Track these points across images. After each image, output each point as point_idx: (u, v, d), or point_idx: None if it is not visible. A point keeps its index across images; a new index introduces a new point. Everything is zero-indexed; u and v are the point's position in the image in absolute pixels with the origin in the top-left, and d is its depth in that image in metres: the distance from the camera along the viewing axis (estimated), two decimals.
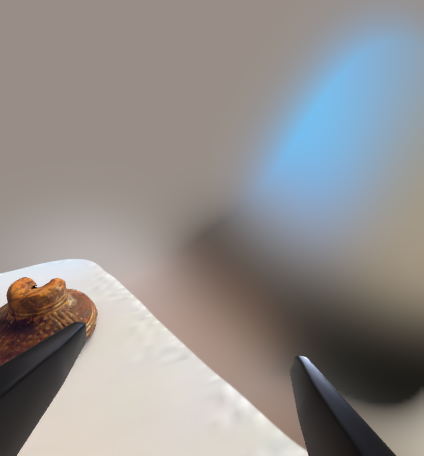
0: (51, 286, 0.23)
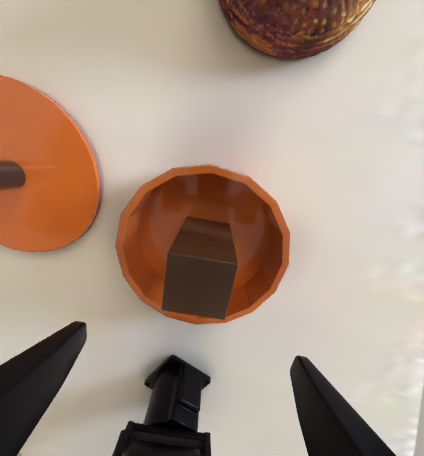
0: None
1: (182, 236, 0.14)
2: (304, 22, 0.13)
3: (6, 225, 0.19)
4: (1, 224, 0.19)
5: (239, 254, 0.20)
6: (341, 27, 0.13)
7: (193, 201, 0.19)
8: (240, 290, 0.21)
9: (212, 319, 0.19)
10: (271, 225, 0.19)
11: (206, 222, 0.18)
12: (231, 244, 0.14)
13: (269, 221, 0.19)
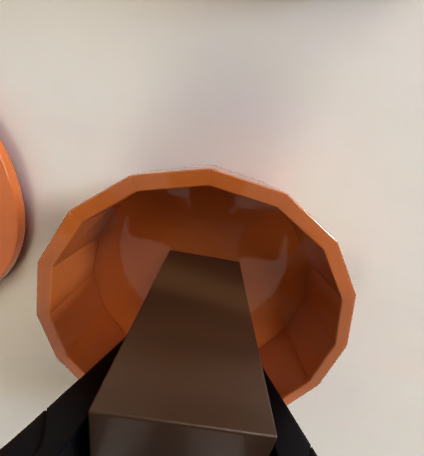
0: None
1: (148, 315, 0.07)
2: None
3: None
4: None
5: (253, 306, 0.13)
6: None
7: (181, 226, 0.11)
8: None
9: None
10: (307, 265, 0.12)
11: (201, 263, 0.11)
12: (248, 333, 0.07)
13: (304, 258, 0.12)
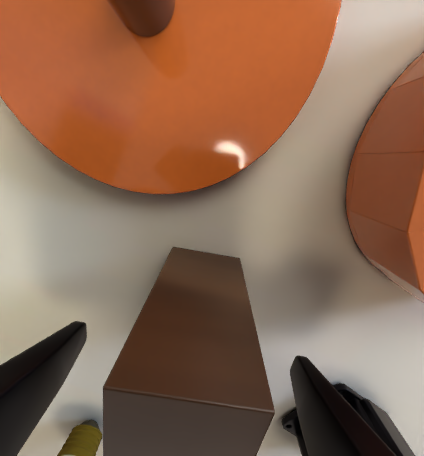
0: None
1: (155, 306, 0.07)
2: None
3: (109, 133, 0.09)
4: (100, 131, 0.09)
5: None
6: None
7: None
8: None
9: None
10: None
11: (203, 259, 0.11)
12: (248, 323, 0.07)
13: None
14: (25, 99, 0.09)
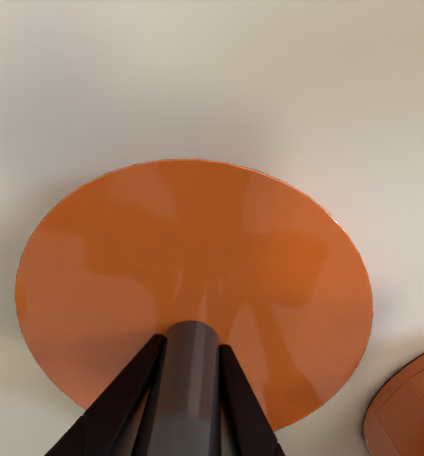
0: None
1: None
2: None
3: None
4: None
5: None
6: None
7: None
8: None
9: None
10: None
11: None
12: None
13: None
14: (80, 389, 0.10)
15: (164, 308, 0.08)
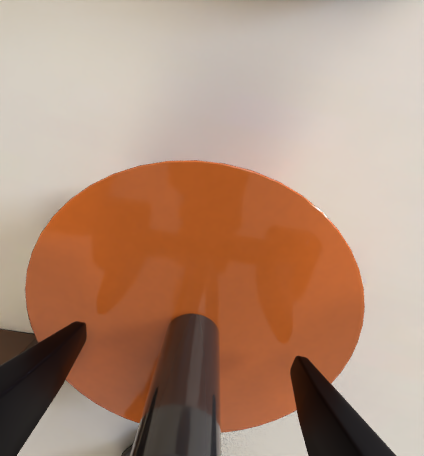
0: None
1: None
2: None
3: None
4: None
5: None
6: None
7: None
8: None
9: None
10: None
11: None
12: None
13: None
14: (85, 381, 0.10)
15: (166, 301, 0.09)
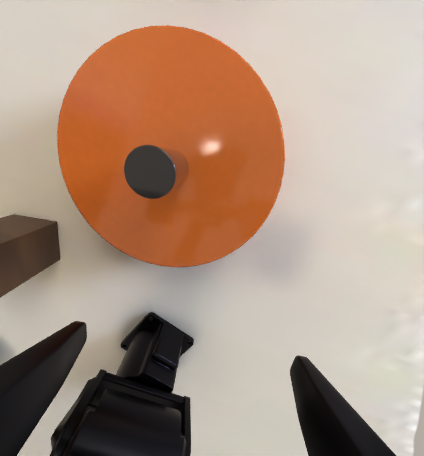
0: None
1: None
2: None
3: (146, 234, 0.15)
4: (140, 233, 0.15)
5: None
6: None
7: None
8: None
9: None
10: None
11: (24, 220, 0.19)
12: None
13: None
14: (96, 215, 0.15)
15: (152, 139, 0.13)
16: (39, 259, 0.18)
